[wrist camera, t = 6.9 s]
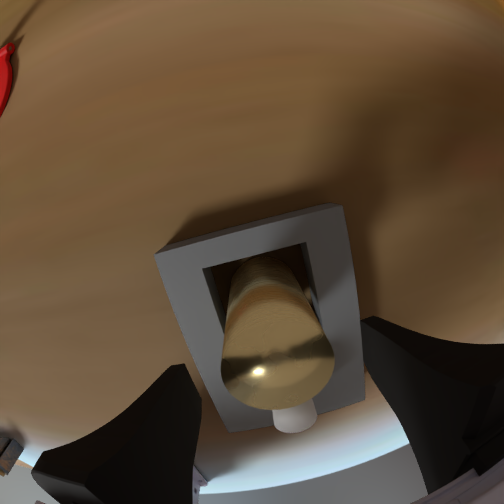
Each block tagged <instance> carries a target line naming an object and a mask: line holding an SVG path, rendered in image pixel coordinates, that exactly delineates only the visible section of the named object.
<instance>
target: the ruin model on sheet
mask: <svg viewBox="0 0 504 504" xmlns="http://www.w3.org/2000/svg"><path fill="white" fill-rule="evenodd" d="M9 441H10V439H9V438H4V437H0V475H2V476H4V475H5V474H6V475H8V473H9V472H10V470H11V469H12V467H13V466H14V464H16V465H19V466H23V467H27V468H31V469H33V467H32V466H30V465H28V464H27V463H25V462H23V461H21V460H19V459H18V458H19V456H20V455H21V453H22V452H23V450H24V449H23V448H22V447H21V446H20V445H19V444H18V443H17V442H16V441H15V439H13V440H12V441H11V443H10V444H9V445H8V446H7V444H8V442H9Z"/></svg>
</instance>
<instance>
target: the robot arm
mask: <svg viewBox="0 0 504 504" xmlns="http://www.w3.org/2000/svg"><path fill="white" fill-rule="evenodd" d="M360 327H361V338H362V351H363V361H364V363H365V365H366V367H367V369H368V372H369V374H370V376H371V378H372V379H373V381H374V382H375V384H376V385H377V387H378V388H379V390H380V392H381V393H382V395H383V396H384V397H385V399H386V400H387V402H388V403H389V405H390V406H391V408H392V410H393V411H394V413H395V414H396V416H397V417H398V419H399V421H400V423H401V425H402V427H403V429H404V431H405V433H406V436H407V438H408V440H409V442H410V445H411V447H412V449H413V452H414V454H415V457H416V459H417V462H418V464H419V467H420V470H421V473H422V476H423V479H424V482H425V485H426V489H427V492H428V495H427V496H425V497H423V498H421V499H419V500H417V501H415V502H413V503H411V504H504V344H470V343H460V342H453V341H448V340H443V339H438V338H434V337H431V336H427V335H424V334H421V333H418V332H415V331H412V330H409V329H406V328H404V327H401V326H399V325H396V324H394V323H391V322H389V321H386V320H384V319H381V318H379V317H376V316H371V317H368V318H365V319H362V320H360ZM201 403H202V399H201V397H200V395H199V393H198V391H197V389H196V387H195V385H194V383H193V381H192V379H191V376H190V374H189V372H188V370H187V368H186V366H185V364H178V365H171V366H170V367H169V368H168V369H167V370H166V371H165V372H164V373H163V374H162V375H161V376H160V377H159V378H158V379H157V380H156V381H155V382H154V383H153V384H152V385H151V386H150V387H149V388H148V389H147V390H146V391H145V392H144V393H143V394H142V395H141V396H140V397H139V398H138V399H137V400H135V401H134V402H133V403H132V404H131V405H130V406H129V407H128V408H127V409H126V410H124V411H123V412H122V413H121V414H119V415H118V416H117V417H115V418H114V419H113V420H111V421H110V422H108V423H107V424H105V425H104V426H102V427H100V428H99V429H97V430H95V431H94V432H92V433H90V434H88V435H86V436H84V437H82V438H80V439H78V440H76V441H74V442H71V443H69V444H66V445H63V446H60V447H57V448H54V449H51V450H47V451H44V452H43V453H42V454H41V456H40V457H39V459H38V461H37V462H36V464H35V466H34V467H33V469H32V471H31V474H32V476H33V479H34V480H35V481H36V482H37V484H38V485H39V486H40V487H41V488H43V489H44V490H45V491H46V492H47V493H48V494H49V495H51V496H52V497H53V498H54V499H55V500H56V501H58V502H59V503H60V504H198V499H199V491H200V486H207V485H208V482H207V481H206V480H205V479H204V478H203V476H202V475H201V474H200V473H199V471H198V470H197V469H196V468H195V466H194V458H195V452H196V446H197V441H198V435H199V429H200V423H201ZM35 504H45V503H43V502H40V501H36V503H35Z"/></svg>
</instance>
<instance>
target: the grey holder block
mask: <svg viewBox="0 0 504 504" xmlns="http://www.w3.org/2000/svg"><path fill="white" fill-rule="evenodd" d="M296 244H300V245H301V249H302V254H303V259H304V263H305V268H306V273H307V277H308V282H309V287H310V292H311V297H312V302H313V307H314V313H315V315H316V317H317V319H318V321H319V323H320V325H321V327H322V329H323V331H324V333H325V335H326V336H327V338H328V340H329V342H330V344H331V346H332V349H333V352H334V357H335V364H334V370H333V373H332V375H331V377H330V379H329V381H328V383H327V384H326V386H325V387H324V388H323V389H322V390H321V391H320V392H319V393H318V394H317V395H315V396H314V397H313V398H311V399H310V400H308V401H306V402H304V403H302V404H300V405H297V406H294V407H291V408H287V409H280V410H265V409H258V408H254V407H251V406H248V405H246V404H244V403H242V402H240V401H239V400H237V399H236V398H235V397H234V396H232V395H231V394H230V392H229V391H228V390H227V388H226V387H225V385H224V383H223V381H222V377H221V370H220V369H221V359H222V350H223V342H224V334H225V325H226V315H225V312H224V308H223V305H222V302H221V299H220V296H219V293H218V290H217V287H216V284H215V280H214V277H213V274H212V271H211V266H215V265H218V264H222V263H226V262H230V261H234V260H238V259H242V258H246V257H250V256H253V255H257V254H261V253H265V252H269V251H273V250H277V249H280V248H284V247H288V246H292V245H296ZM154 257H155V260H156V263H157V266H158V269H159V272H160V275H161V278H162V281H163V283H164V286H165V289H166V292H167V295H168V297H169V300H170V303H171V305H172V308H173V311H174V313H175V316H176V318H177V321H178V323H179V326H180V328H181V331H182V333H183V336H184V338H185V341H186V343H187V345H188V348H189V350H190V353H191V355H192V357H193V360H194V362H195V364H196V366H197V369H198V371H199V373H200V375H201V377H202V380H203V382H204V384H205V386H206V388H207V390H208V392H209V395H210V397H211V399H212V401H213V403H214V405H215V407H216V409H217V411H218V413H219V415H220V417H221V419H222V421H223V423H224V425H225V427H226V428H227V430H228V432H229V433H232V432H239V431H246V430H252V429H257V428H263V427H268V426H273V425H275V427H276V428H277V429H278V430H280V431H282V432H285V433H297V432H301V431H304V430H306V429H308V428H310V427H311V426H312V425H313V424H314V423H315V422H316V419H317V415H319V414H322V413H326V412H329V411H332V410H336V409H339V408H342V407H345V406H348V405H351V404H354V403H357V402H360V401H363V400H365V381H364V361H363V351H362V338H361V327H360V314H359V305H358V296H357V289H356V281H355V274H354V267H353V261H352V254H351V248H350V242H349V237H348V231H347V226H346V221H345V215H344V210H343V206H342V205H339V204H334V203H326V204H322V205H317V206H313V207H309V208H305V209H301V210H297V211H293V212H289V213H285V214H281V215H277V216H273V217H269V218H265V219H261V220H257V221H254V222H250V223H246V224H242V225H238V226H234V227H231V228H227V229H223V230H220V231H216V232H212V233H209V234H205V235H201V236H198V237H194V238H190V239H187V240H183V241H180V242H176V243H173V244H169V245H166V246H164V247H163V248H162V249H160V250H159V251H158V252H156V253H155V254H154Z"/></svg>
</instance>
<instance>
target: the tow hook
mask: <svg viewBox="0 0 504 504" xmlns="http://www.w3.org/2000/svg"><path fill="white" fill-rule="evenodd" d="M14 50H15V46H14V44H13V43H8V44H7V45H5V46H4V47H3V48H1V49H0V117H1V115H2V112H3V110H4V108H5V105H6V103H7V100H8V97H9V93H10V89H11V84H12V67H11V64H10V62H9V59H10V55H11V54H12V53H13V52H14Z"/></svg>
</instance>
